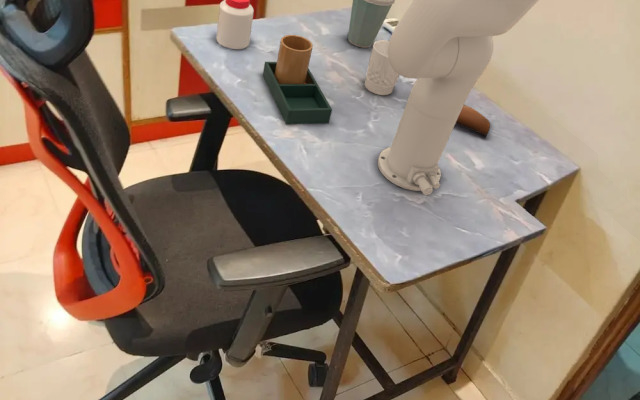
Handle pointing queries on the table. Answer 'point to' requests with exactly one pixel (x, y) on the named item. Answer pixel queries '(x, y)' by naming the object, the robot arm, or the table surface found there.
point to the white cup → (380, 70)
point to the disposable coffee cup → (367, 20)
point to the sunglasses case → (473, 120)
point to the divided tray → (298, 99)
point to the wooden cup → (293, 60)
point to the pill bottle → (234, 23)
